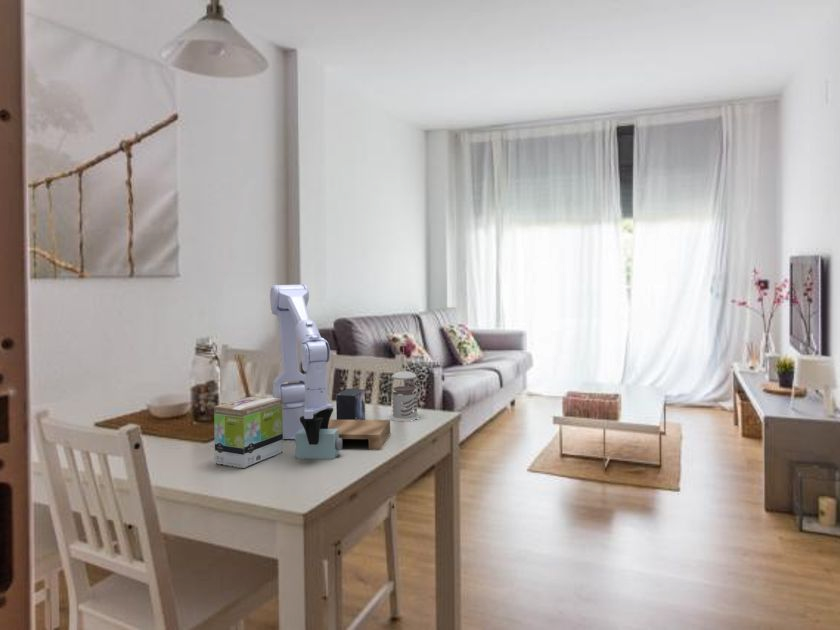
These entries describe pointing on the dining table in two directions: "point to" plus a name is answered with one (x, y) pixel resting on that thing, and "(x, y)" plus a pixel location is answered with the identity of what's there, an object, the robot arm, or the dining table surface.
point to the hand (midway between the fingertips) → (317, 440)
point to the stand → (363, 430)
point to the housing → (318, 445)
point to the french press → (404, 396)
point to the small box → (351, 404)
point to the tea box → (248, 431)
